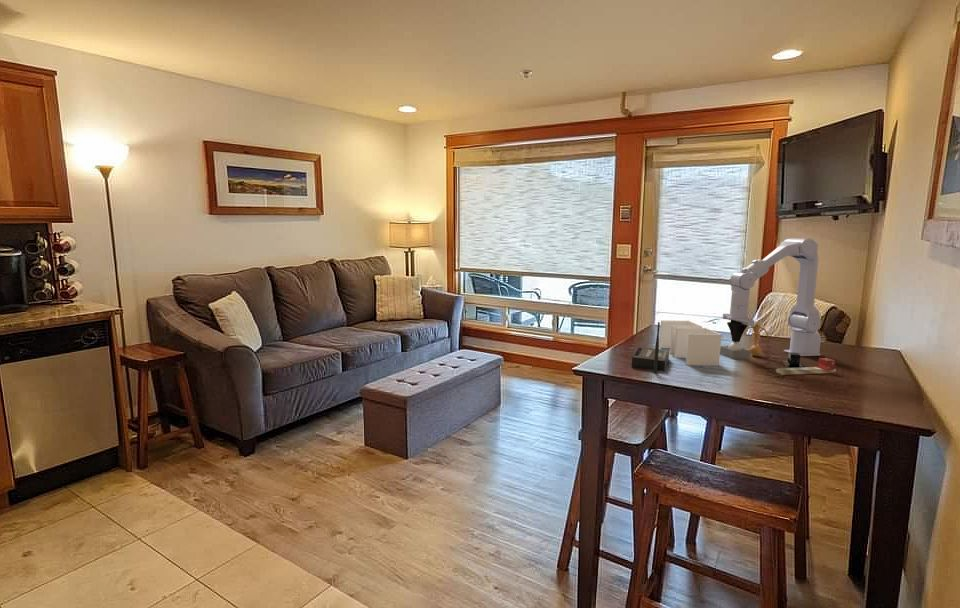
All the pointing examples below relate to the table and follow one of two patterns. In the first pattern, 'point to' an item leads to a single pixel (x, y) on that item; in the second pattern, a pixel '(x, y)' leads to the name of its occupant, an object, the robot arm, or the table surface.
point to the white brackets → (690, 342)
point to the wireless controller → (651, 357)
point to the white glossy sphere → (735, 346)
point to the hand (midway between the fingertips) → (735, 341)
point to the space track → (811, 368)
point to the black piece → (793, 360)
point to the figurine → (756, 349)
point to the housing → (735, 352)
